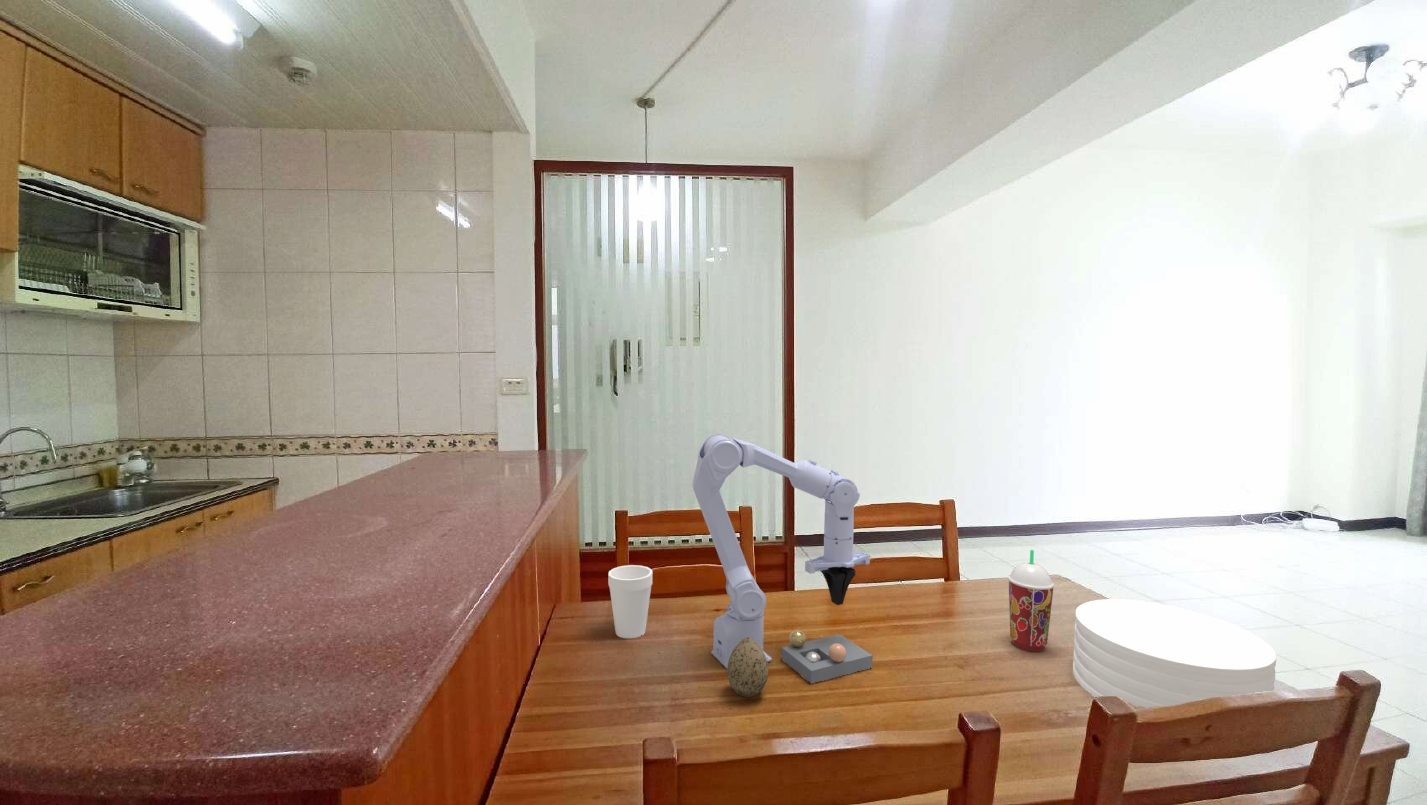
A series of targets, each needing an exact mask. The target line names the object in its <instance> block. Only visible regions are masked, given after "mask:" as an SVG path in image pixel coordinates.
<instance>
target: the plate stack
mask: <svg viewBox="0 0 1427 805" xmlns="http://www.w3.org/2000/svg"><path fill="white" fill-rule="evenodd" d="M1074 615H1075V617H1074V620H1075V623H1074V638H1073V647H1074V649H1073V655H1072V656H1073V663H1072V674H1073V677H1074V678H1075V679H1074V680H1076V682H1077V683H1078V684H1079V685H1080V686H1081V687H1082V688H1083V689H1084V690H1085V691H1086V692H1087V691H1088V692H1089V693H1088V692H1087V693H1088V694H1090V693H1091V694H1092V695H1091V694H1090V695H1091V696H1092V697H1094V698H1095V697H1098V696H1119V697H1121V698H1122V699H1124V700H1125V701H1128V702H1129V703H1131V704H1132V705H1134V706H1136V707H1138V706H1142V707H1145V708H1149V707H1154V706H1171V705H1175V704H1179V703H1184V702H1188V701H1196V700H1200V699H1205V698H1210V697H1215V696H1232V695H1239V694H1247V693H1255V692H1263V691H1273V690H1274V691H1275V681H1276V669H1275V668H1276V666H1277V653H1276V651H1275V649H1274V648H1273V647H1272V646H1271V645H1270V644H1269V643H1268V642H1266V641H1265V640H1263V639H1262V638H1261V637H1259V636H1257V635H1256V634H1254V633H1252V632H1250V631H1249V630H1247V629H1244V628H1243V627H1240V626H1238V625H1235V624H1233V623H1230V622H1227V621H1225V620H1223V619H1220V618H1217V617H1215V616H1214V617H1213V616H1211V615H1207V614H1204V613H1200V612H1199V611H1194V610H1190V609H1186V608H1182V607H1178V606H1174V605H1173V606H1172V605H1168V604H1163V603H1158V602H1151V601H1145V600H1144V601H1143V600H1134V599H1121V598H1120V599H1119V598H1117V599H1116V598H1113V599H1112V598H1108V599H1107V598H1106V599H1095V600H1091V601H1086V602H1083V603H1082V604H1079V606H1077V607H1076V609H1075V614H1074Z"/></svg>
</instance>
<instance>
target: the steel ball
mask: <svg viewBox="0 0 1427 805" xmlns="http://www.w3.org/2000/svg"><path fill="white" fill-rule="evenodd" d="M805 658H806V659H807V660H809V661H810V662H811V663H815V662H819V661H821V657H820V655H819V654H818V653H816V652H809V653H807V654H806V656H805Z"/></svg>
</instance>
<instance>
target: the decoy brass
mask: <svg viewBox="0 0 1427 805" xmlns="http://www.w3.org/2000/svg"><path fill="white" fill-rule="evenodd" d="M788 638H789V643H790V644H791V645H793V646H795V647H801V646H803V645H804V644H805V642H807V638H806V634H805V633H804V632H803V631H802V630H801V629H795V630H792V631H791V632H790V634H789V637H788Z"/></svg>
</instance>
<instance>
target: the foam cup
mask: <svg viewBox="0 0 1427 805" xmlns="http://www.w3.org/2000/svg"><path fill="white" fill-rule="evenodd" d="M607 582H608V583H607V584H608V587H609V592H610V598H611V599H610V601H611V607H612V608H611V609H612V615H613V621H614V623H613V624H614V630H615V635H617V637H619V638H621V639H622V638H623V639H637V638H639V637H642V636H643V635H644V634H645V633H646V630H647V629H646V628H647V622H648V613H649V605H650V599H651V598H650V597H651V591H652V585H653V569H651V568H650V567H648V566H644V565H634V564H628V565H621V566H617V567H614V568H612V569H611V570H608V581H607ZM641 635H642V636H641Z"/></svg>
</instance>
